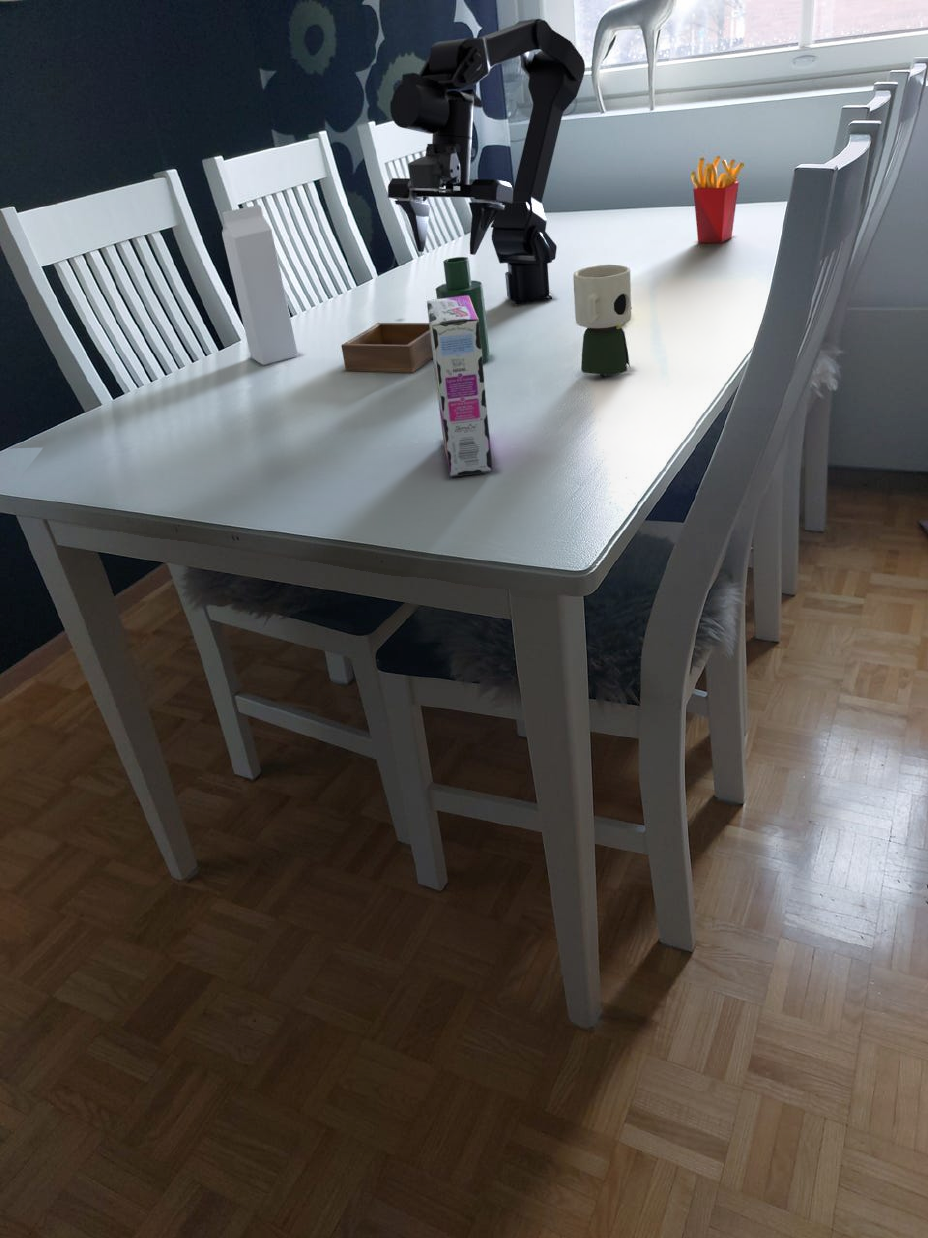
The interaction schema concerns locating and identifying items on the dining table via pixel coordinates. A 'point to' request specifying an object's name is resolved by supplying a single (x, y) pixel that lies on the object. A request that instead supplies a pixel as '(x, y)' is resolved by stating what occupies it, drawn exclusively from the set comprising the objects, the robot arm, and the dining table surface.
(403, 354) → the crate
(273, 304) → the milk
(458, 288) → the bottle
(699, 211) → the french fries
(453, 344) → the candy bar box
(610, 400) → the dining table surface
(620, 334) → the character mug
